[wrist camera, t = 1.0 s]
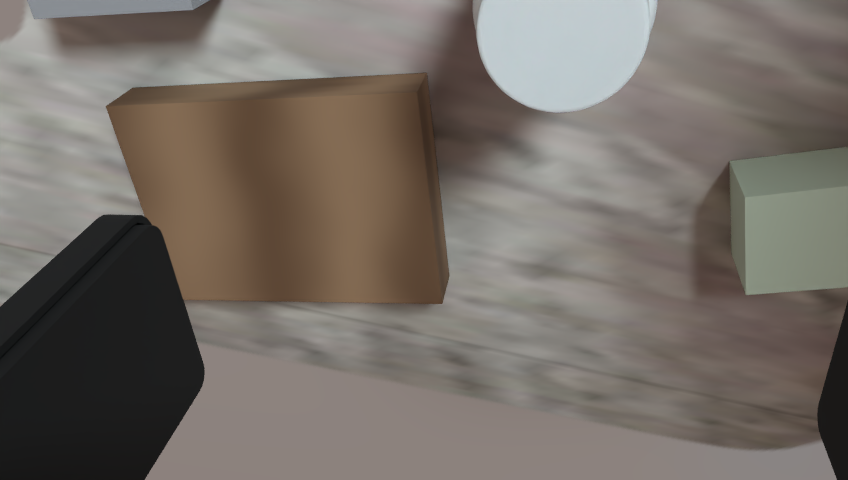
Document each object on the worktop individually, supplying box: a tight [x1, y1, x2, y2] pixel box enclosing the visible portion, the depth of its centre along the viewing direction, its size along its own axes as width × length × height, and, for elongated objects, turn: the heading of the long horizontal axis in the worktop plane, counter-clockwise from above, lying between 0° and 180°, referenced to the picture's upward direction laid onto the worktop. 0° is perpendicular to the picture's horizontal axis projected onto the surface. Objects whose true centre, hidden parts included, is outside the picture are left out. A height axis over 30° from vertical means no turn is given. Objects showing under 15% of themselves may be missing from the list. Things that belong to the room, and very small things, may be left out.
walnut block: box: [106, 73, 449, 304], centre depth 29 cm, size 12×9×2 cm
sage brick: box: [730, 147, 848, 295], centre depth 25 cm, size 6×4×3 cm, turn 103°
